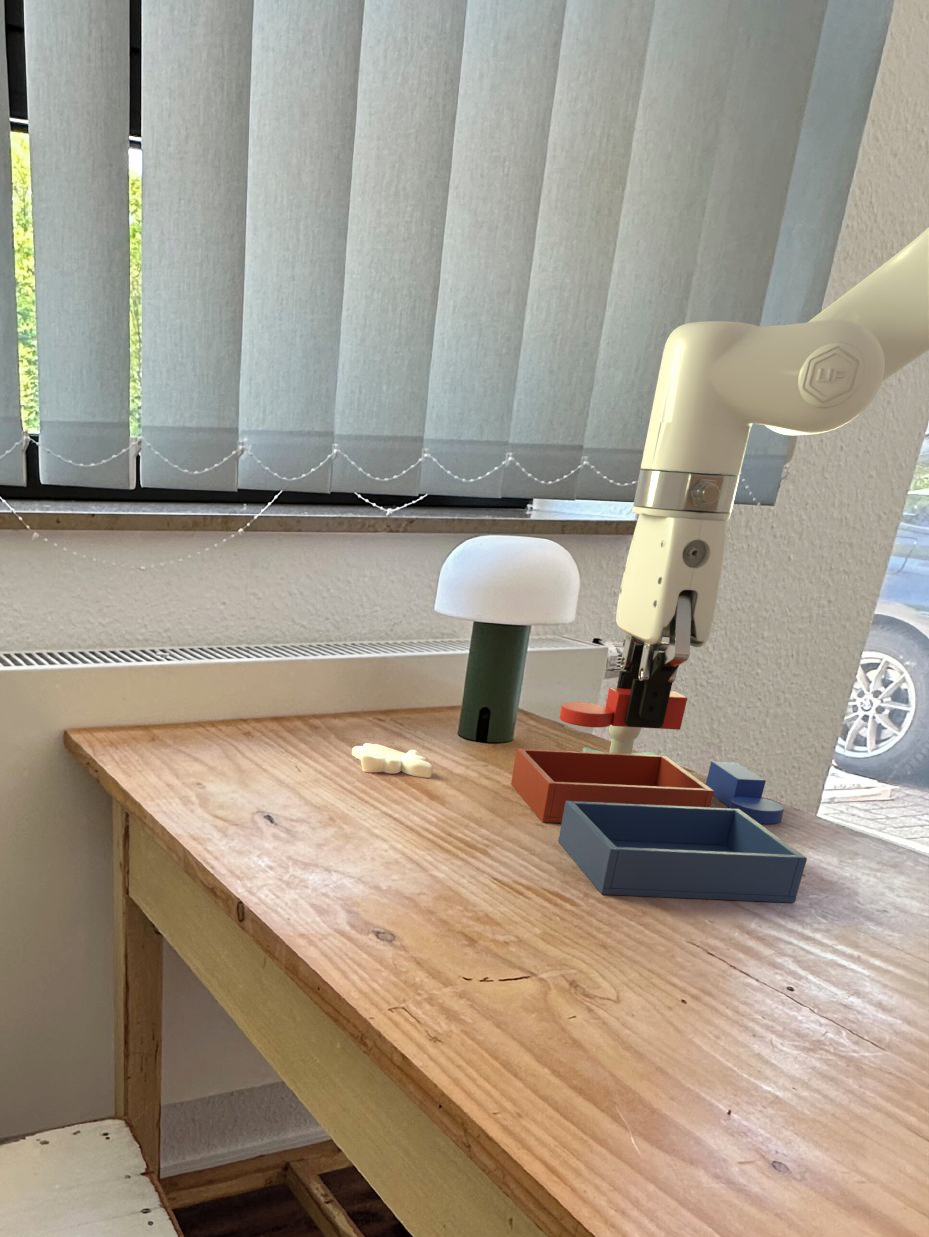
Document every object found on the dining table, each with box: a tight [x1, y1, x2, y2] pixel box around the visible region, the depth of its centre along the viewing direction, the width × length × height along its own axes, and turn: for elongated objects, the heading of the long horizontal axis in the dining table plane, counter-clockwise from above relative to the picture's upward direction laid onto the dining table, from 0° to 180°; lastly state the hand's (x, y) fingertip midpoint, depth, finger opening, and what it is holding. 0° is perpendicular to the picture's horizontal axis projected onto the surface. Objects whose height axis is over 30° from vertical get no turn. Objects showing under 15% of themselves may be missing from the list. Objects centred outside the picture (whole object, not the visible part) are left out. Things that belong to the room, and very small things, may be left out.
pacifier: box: [582, 725, 660, 756], centre depth 107 cm, size 7×6×6 cm
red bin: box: [510, 748, 714, 824], centre depth 96 cm, size 14×11×4 cm
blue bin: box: [557, 801, 808, 904], centre depth 82 cm, size 14×11×4 cm
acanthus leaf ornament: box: [351, 742, 434, 779], centre depth 105 cm, size 8×7×2 cm
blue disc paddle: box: [705, 760, 785, 825], centre depth 99 cm, size 10×4×3 cm, turn 0°
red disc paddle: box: [559, 687, 688, 731], centre depth 93 cm, size 10×4×3 cm, turn 90°
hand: (636, 720), depth 94 cm, fingers closed on red disc paddle, 2 cm apart
